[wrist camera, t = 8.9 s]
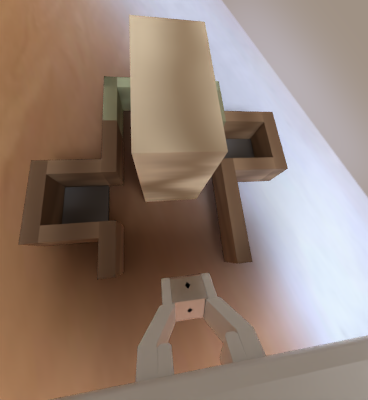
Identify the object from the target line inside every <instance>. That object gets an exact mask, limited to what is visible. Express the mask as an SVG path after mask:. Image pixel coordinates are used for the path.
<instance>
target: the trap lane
mask: <svg viewBox="0 0 368 400" xmlns="http://www.w3.org/2000/svg"><path fill="white" fill-rule="evenodd" d="M215 82H216V88H217V94H218V99H219V105H220V110H221V116H222V121H223V127H224V133H225V138H226V144H227V149H228V152H227V154H226V155H225V157H224V158H223V160H222V161H221V163H220V164H219V166H218V167H217V169H216V170H215V172H214V173H213V175H212V180H213V187H214V194H215V201H216V207H217V214H218V221H219V228H220V235H221V241H222V248H223V255H224V262H231V263H246V262H252V258H251V252H250V247H249V242H248V236H247V231H246V226H245V220H244V215H243V209H242V204H241V199H240V193H239V188H238V183H237V182H251V181H270V180H271V179H273V178H274V177H276V176H277V175H279V174H280V173H282V172H283V171H285V170H286V169H288V168H287V164H286V160H285V157H284V153H283V150H282V146H281V142H280V139H279V135H278V131H277V128H276V124H275V120H274V117H273V113H272V112H242V111H224V108H223V102H222V97H221V92H220V86H219V81H215ZM123 111H131V97H130V77H106V76H104V94H103V123H102V153H101V159H77V160H31V165H30V171H29V178H28V184H27V191H26V198H25V204H24V211H23V218H22V224H21V231H20V237H19V244H20V245H36V246H51V245H63V244H75V243H87V242H98V271H97V279H104V278H113V277H117V276H119V275H121V274H122V273H124V226H123V225H122V224H120V223H119V222H118V221H116V220H114V221H109V186H114V185H124V181H123Z"/></svg>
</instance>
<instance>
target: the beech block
mask: <svg viewBox="0 0 368 400" xmlns="http://www.w3.org/2000/svg"><path fill="white" fill-rule="evenodd" d="M129 38H130V97H131V153H132V157H133V160H134V164H135V167H136V171H137V174H138V178H139V181H140V185H141V188H142V192H143V195H144V199H145V202H154V201H172V200H190V199H197V197H198V196H199V194H200V193H201V191H202V190H203V188H204V187H205V185H206V184H207V182H208V181H209V179H210V178H211V176H212V175H213V173H214V172H215V170H216V169H217V167H218V166H219V164H220V163H221V161H222V160H223V158H224V157H225V155H226V154H227V152H228V149H227V144H226V138H225V133H224V127H223V121H222V116H221V110H220V105H219V99H218V94H217V88H216V82H215V77H214V71H213V66H212V60H211V55H210V49H209V43H208V38H207V32H206V27H205V22H200V21H189V20H179V19H168V18H157V17H146V16H135V15H129Z"/></svg>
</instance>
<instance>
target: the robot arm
mask: <svg viewBox="0 0 368 400" xmlns="http://www.w3.org/2000/svg"><path fill="white" fill-rule="evenodd" d="M161 290H162V305H160V306H159V308H158V310H157V312H156V314H155V315H154V317H153V319H152V321H151V323H150V325H149V327H148V328H147V330H146V332H145V334H144V336H143V338H142V340H141V342H140V343H139V345H138V350H137V366H136V382H134V383H129V384H124V385H119V386H114V387H109V388H104V389H99V390H94V391H89V392H85V393H80V394H75V395H70V396H65V397H60V398H55V399H50V400H368V336H363V337H358V338H353V339H348V340H343V341H338V342H333V343H328V344H323V345H318V346H313V347H308V348H303V349H298V350H293V351H288V352H283V353H278V354H273V355H268V356H266V355H265V352H264V350H263V348H262V346H261V343H260V341H259V339H258V337H257V334H256V332H255V330H254V328H253V327H252V326H251V325H250V324H249V323H248V322H247V321H246V320H245V319H244V318H243V317H242V316H240V315H239V314H238V313H237V312H236V311H235V310H234V309H233V308H232V307H231V306H229V305H228V304H227V303H226V302H225V301H224V300H223V299H222V298H221V297H217V294H216V291H215V288H214V285H213V282H212V279H211V276H210V274H209V273H203V274H193V275H186V276H180V277H170V278H161ZM196 318H204V320H205V321H206V322H207V323H208V325H209V326H210V327H211V328H212V330H213V331H214V332H215V333H216V335H217V336H218V337H219V338H220V340H221V341H222V342H223V346H222V350H221V354H220V361H221V365H219V366H214V367H209V368H204V369H199V370H194V371H189V372H184V373H179V374H174V368H173V357H172V346H171V344H169V343H168V341H169V338H170V336H171V333H172V330H173V328H174V325H175V322H178V321H184V320H189V319H196Z"/></svg>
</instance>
